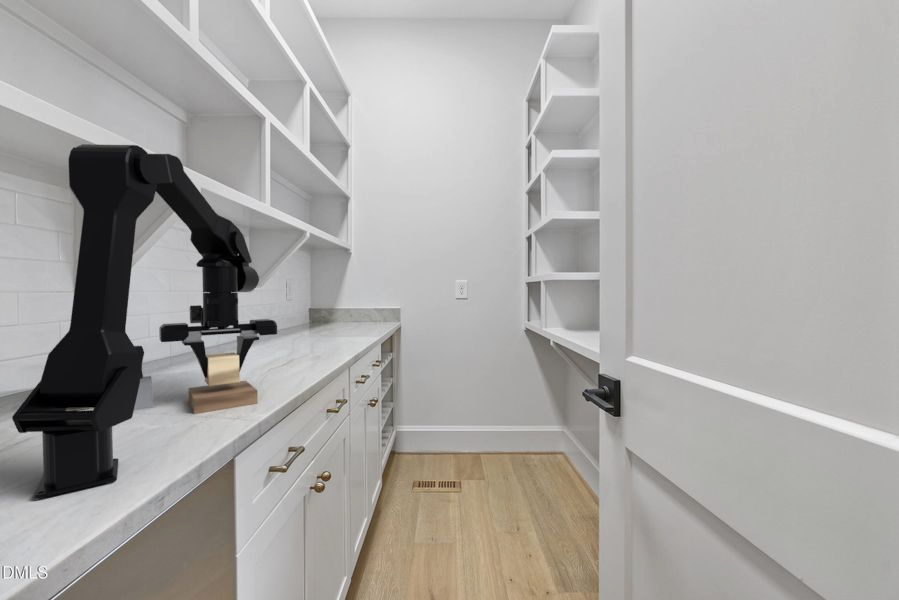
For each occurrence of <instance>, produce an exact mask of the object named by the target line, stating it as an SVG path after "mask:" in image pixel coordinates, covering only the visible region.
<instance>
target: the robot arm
mask: <svg viewBox="0 0 899 600" xmlns="http://www.w3.org/2000/svg"><path fill="white" fill-rule="evenodd" d="M67 162H68V181H69V182H68V184H69V189H70V191H71V192H72V194H73V195H74V197H75V199H76V200H77V201H78V203H79V205H80V206H81V208H82V212H83V214H82V224H81V231H80V239H79V240H80V242H79V249H78V250H79V251H78V257H77V266H76V275H75V281H74V282H75V283H74V291H73V298H72V306H71V308H72V309H71V315H70V324H69V329H68V331H67V333H66V334H64V336H63V337H62V338H61V339H60V340H59V342H58V343H56V344H55V346H54V347H53V349H52V350H50V352H49V353H48V355H47V358H46V361H45V365H44V368H43V372H42V375H41V379H40V381H39V382H38V383H37V384H36V386H35V387H33V389H32V390H31V392H30V394H28V396H27V397H26V398H25V400H24V401H23V402H22V403H21V405H20V406H19V407H18V409H17V410H16V411H15V412H14V414H13V415H12V421H13V423H14V426H15V428H16V430H17V432H18V433H19V434H23V433H24V434H26V433H35V432H36V433H37V432H39V433H40V432H41V434H42V459H43V461H42V464H43V468H42V469H43V475H42V477H41V479H40V480H39V483H38V484H37V486H36V490H35V491H34V493H33V498H34V500H37V499H43V498H48V497H51V496H52V497H53V496H55V495H60V494H64V493H69V492H73V491H77V490H82V489H86V488H91V487H94V486H95V487H96V486H99V485H103V484H108V483H113V482H115V481H117V480H118V473H119V458H114V447H113V444H114V443H113V427H114V426H118V425H120V424H121V423H124V422H126V421H129V420H131V419H132V418H133V416H134V412H135V410H134V407H135V403H136V398H137V394H138V389H139V385H140V379H142V378H143V377H144V376H143V360H144V355H145V351H144V348H143V346H142V345H134V343H133V342H132V341H131V339H130V337H129V336H128V334H127V332H126V325H127V316H128V307H129V296H130V295H129V294H130V287H131V276H132V268H133V267H132V266H133V265H132V263H133V258H134V257H133V254H134V248H135V247H134V246H135V237H136V226H137V220H138V218H139V217H140V216H141V215H142V214H143V213H144V211H146V210H147V208H149V206H150V205H152V203H153V201H154V199H155V195H156V194H157V195H159V197H161V199H162V200H163V201H164V202H165V203H166V204H167V206H168V207H169V208H170V209H171V210H172V211H173V212H174V213H175V214H176V216H177V217H178V218H179V219H180V220H181V222H183V223H184V224H185V226H186V227H187V228H188V229H189V231H190V232H191V233H190V237H189V238H190V239H189V240H190V242H191V244H192V245H193V246H194V247H195V249H196V251H197V252H198V253H199V254H200V256H201V257H202V258H201V259H199V260H198V261H197V262H196V264H195V265H196V267H197V268H202V271H201V272H202V305H199V304H198V305H190V306H189V322H190V324H200V325H195V326H193V325H192V326H189V324H188V323H186V322H178V323H177V322H176V323H175V322H174V323H162V324H161V325H160V326H159V331H158V333H159V341H160V342H161V343H169V342H170V343H171V342H181V343H182V345H183V346H187V347H188V346H189V347H190V349H192V351H193V353H194V354H195V355H194V356H195V357H196V359H197V361H198V364H199V367H200V370H201V372H202V374H203V378H204V379H205V378H206V377H207V360H206V355H207V353H206V348H205V341H204V340H202V337H203V336H217V335H232V334H239V335H236V344H237V345H236V352H235V353H236V354H237V355H239V373H240V372H241V369H242V367H243V365H244V362H245V360H246V357H247V355H248V353H249V351H250V349H251V347H252V345H253V344H254V342H255V341H259V340H260V337H259V336H258V335H260V336H272V335H273V336H274V335H278V325H277V322H276V321H275V320H274V319H270V318H269V319H268V318H262V319H250V320H249V323H239V293H249V292H252V291H253V290H254V289H256V288H257V286H258V285H259V281H260V276H259V275H258V272H257V270H256V269H255V268H254V267H252V266H250V264H251V263H252V262H253V261H252V258H251V255H250V252H249V248H248V245H247V243H246V240H245V237H244V234H243V233H242V232H241V230H240V228H238V226H237V225H236V224H235V223H234V222H232V220H230V219H228V218H226V217H224V216H222V215H220V214H218V213H217V212H216V211H215V210H214V209H213V208H212V206H211V205H210V204H209V202H208V201H207V200H206V198H205V196H204V195H203V194H202V193H201V192H200V190H199V189H198V187H197V186H196V184H194V182H193V181H192V180H191V178H190V177H189V176H188V174H187V173H186V172H185V170H184V166H183V163H182V161H181V159H180V158H179V157H178V156H176V155H173V154H170V153H148V152H147V151H146V149H145V148H143V147H141V146H140V145H137V144H89V143H88V144H85V143H84V144H80V145H78V146H76V147H75V146H74V147H73V148H71V150H70V153H69V155H68V161H67ZM66 408H91V409H93V410H73V411H66Z"/></svg>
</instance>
